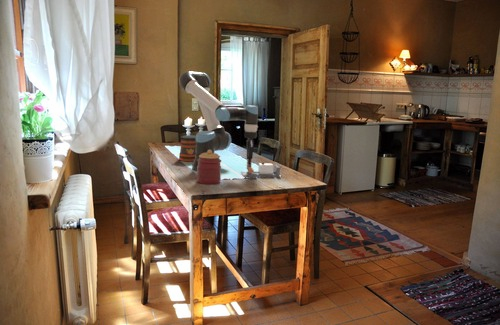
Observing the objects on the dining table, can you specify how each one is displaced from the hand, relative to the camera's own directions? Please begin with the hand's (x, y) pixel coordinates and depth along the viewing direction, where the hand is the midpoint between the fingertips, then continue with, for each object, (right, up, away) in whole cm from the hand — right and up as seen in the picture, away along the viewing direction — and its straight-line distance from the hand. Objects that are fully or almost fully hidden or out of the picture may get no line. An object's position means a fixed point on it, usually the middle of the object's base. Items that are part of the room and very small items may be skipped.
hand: (248, 169), depth 238 cm
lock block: (+10, -3, -5) cm, 12 cm away
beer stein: (-39, +6, +31) cm, 50 cm away
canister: (-22, -7, -29) cm, 37 cm away
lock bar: (+1, -2, -6) cm, 7 cm away
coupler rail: (+7, -4, -8) cm, 12 cm away
